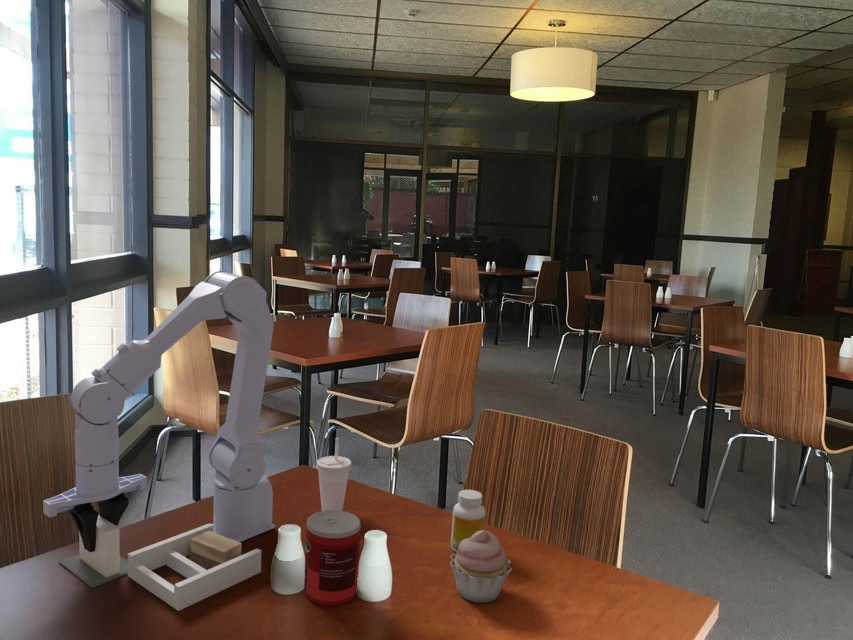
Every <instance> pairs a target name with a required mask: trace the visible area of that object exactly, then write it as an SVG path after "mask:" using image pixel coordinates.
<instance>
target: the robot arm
mask: <svg viewBox="0 0 853 640" xmlns="http://www.w3.org/2000/svg"><path fill="white" fill-rule="evenodd" d="M267 294H268V293H267V291H266V290H265V289H264V288H263V287H262V286H261V285H260V283H258V282H257V281H256V279H253V278H252V277H250V276H247V275H246V276H245V275H239V274H235V273H231V272H229V271H226V270H216V271H213V272H212V273H209V275H207V277H206V278H205V279H204V281H201V282H199V283H197V284H196V285H195V286H194V287H193V288H192V290H191V291H190V293H189V294H188V296H186V297H185V298H184V300H182V302H181V303H179V304H178V306H176V307H175V308H174V309H173V310H172V312H170V314H169V315H168V316H167V317H165V319H163V320H162V321H161V323H160V324H158V326H156V327H155V329H154V330H152V332H150V334H149V335H147V337H146V338H145V339H133V340H130V341H129V342H128V343H127V344H126V343H124V342H122V343H121V344H120V345H119V346H117V348H116V350H117V351H118V352H117V353H116V354H115V355H114V356H113V357H111V358H110V359H109V360H108V361H107V362H105V364H104V365H103V366H101V367H100V368H99V369H98V368H95V369H94V370H92V372H91V375H92V376H90V377H88V378H87V377H86V378H83V379H82V380H80V381H79V382H78V383H77V384H76V385H74V388H72V389H73V390H72V393H71V395H70V396H68V400H69V404H70V405H71V408H73V409H74V410H75V412H76V413H75V422H74V423H75V431H74V451H75V452H74V454H75V455H74V456H75V487H73V488H71V489H69V490H66V491H64V492H63V493H60V494H58V495H55V496H53V497H50V498H47V499H44V500H43V501H42V505H43V506H42V509H43V510H42V511H43V514H44V515H45V516H47V517H48V518H53V517H56V516H58V513H59V514H60V513H63V512H66V511H67V512H68V514H69V515H70V516H71V518H72V519H73V521H74V523H75V525H76V527H77V530H78V533H79V532H80V535H81V538H82V541H83V546H84V549H86V550H87V551H89V552H94V551H95V548H96V524H97V519H98V515H99V516H101V517H103V518H104V519H106V520H107V521H109V522H111V523H112V524H114V525H115V526H117V527H119V524H120V521H121V519H122V517H123V514H125V511H126V510H127V508H128V507H129V503H130V502H129V498H128V497H127V496H125V494H127V493H130V492H134V491H136V490H139V491H143V490H147V488H148V476H145V475H144V474H141V473H138V474H133V475H126V476H120V475H119V474H120V470H119V469H120V465H119V463H120V462H119V461H120V459H119V453H120V451H119V449H120V448H119V426H118V424H119V423H118V422H119V421H118V420H119V419H118V417H119V416H121V414H122V413H123V412H124V409H125V402H126V400H127V399H128V398H129V397H131V396H132V395H133V394H134V393H135V392H136V391H137V390H138V389H140V387H142V385H143V384H144V383H145V382H146V381H148V379H150V378H151V377H152V376H153V375H154V374H156V372H157V371H159V369H160V368H161V364H162V356H163V354H165V353H166V352H167V351H168V350H169V349H171V348H172V347H173V346H174V345H175V344H177V343H178V342H179V341H180V340H181V339H182V338H184V337H185V336H186V335H187V334H189V333H190V332H191V331H192V330H193V329H195V328H196V327H197V326H198V325H199V324H200V323H201V322H204V321H210V320H217V319H219V320H220V319H226V318H228V320H229V321H230V322H231V323H232V325H234V326H235V327H236V329H237V330H238V337H237V344H236V350H235V356H234V364H233V371H232V376H231V383H230V390H229V394H228V403H227V409H226V417H225V422H224V423H223V424H222V425H221V426H220V427H219V428H218V429H217V433H216V437H215V441H214V442H213V443H212V446H211V447H210V449H209V451H208V462H209V464H210V466H211V468H213V469H214V471H215V472H214V478H213V522H212V523H211V524H212V525H213V533H216V534H219V535H221V536H224V537H227V538H229V539H232V540H235V541H237V542H240V543H242V542H244V541H246V540H248V539H251V538H253V537H256V536H258V535H261V534H263V533H265V532H269V531H270V530H272V529H275V527H276V525H275V524H274V523H273V506H274V505H273V500H274V497H273V496H274V493H273V492H274V491H273V487H272V483H271V481H270V480H269V478H268V477H267V476H266V475H265V472H266V467H267V466H266V464H267V463H266V459H265V456H264V446H265V445H264V441H263V438H262V436H261V433H260V430H259V422H260V416H261V410H262V403H263V396H264V391H265V386H266V385H265V384H266V377H267V371H268V364H269V358H270V353H271V347H272V339H273V333H274V327H275V326H274V325H275V322H274V320H273V317H272V314H271V311H270V308H269V305H268V302H267V296H268V295H267ZM96 502H97V504H98V511H99V512H98V511H97V510H95V509H94V505H92V504H93V503H96Z"/></svg>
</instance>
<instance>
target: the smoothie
mask: <svg viewBox="0 0 853 640" xmlns="http://www.w3.org/2000/svg"><path fill="white" fill-rule="evenodd" d="M334 443H335V444H334V455H327V456H323V457H320V458H319V459H318V460H316V465H315V467H316V469H317V471H318V481H319V484H318V485H319V493H320V495H319V496H320V505H321V511H326V510H340V511H343V507H344V502H345V498H346V497H345V496H346V492H347V491H346V490H347V485H348V479H349V473H350V471H351V469H352V460H351V459H350V458H348V457H345V456H340V455H339V438H338V437H335V442H334Z"/></svg>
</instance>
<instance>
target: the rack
mask: <svg viewBox="0 0 853 640" xmlns="http://www.w3.org/2000/svg"><path fill="white" fill-rule="evenodd" d="M212 524H213V523H211V522H210V523H207V524H204V525H201V526H199V527H196V528H194V529H190V530H188V531H186V532H181V533H180V534H177V535H175V536H172V537H168V538H167V539H164V540H161V541H158V542H156V543H153V544H150V545H148V546H144V547H143V548H140V549H137V550H134V551H132V552H128V553H127V560H128V574H127V577H129V578H130V579H131V580H133V581H134V582H136V583H137V584H138V585H140V586H142V587H143V588H144V589H145V590H147V591H149V592H150V593H152V595H153V594H154V596H156V598H159V599H160V600H162V601H163V602H165V603H166V604H168V605H169V606H171V607H172V608H173V609H175V610H176V611H178V612H179V611H181V610H184V609H185V608H187V607H190V606H192V605H195V604H196V603H199V602H201V601H202V600H205V599H207V598H208V597H209V598H210V597H211V596H213V595H215V594H218V593H220V592H222V591H224V590H227V589H229V588H230V587H232V586H235V585H236V584H239V583H241V582H243V581H245V580H247V579H249V578H251V577H253V576H255V575H258V574H260V573H261V572H262V550H261V549H259V548H255V549H252V550H250V551H248V552H246V553H244V554H241V556H239V557H236V558H234V559H232V560H229V561H227V562H225V563H222V564H220V565H218V566H216V567H213V568H211V569H209V570H206V569H204V568H202V567H201V566H199V565H197V564H196V563H194V562H192V561H191V560H189V558H187V557H189V547H190V546H191V539H192V538H195V537H197V536H199V535H201V534H203V533H205V532H207V531H210V532H213V525H212ZM164 566H167V567H169V568H170V569H171V570H173V571H174V572H176V573H178V574H180V575H181V576H183V577H184V578H186V579H183V580H181V581H178V582H176V583H175V584H174V585H173V583H171V582H169V581H167V580H166V579H164V578H163V577H161V575H158V574H156V573H155V572H154V571H155V569H159V568H160V567H164ZM153 570H154V571H153Z"/></svg>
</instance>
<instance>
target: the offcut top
mask: <svg viewBox="0 0 853 640" xmlns="http://www.w3.org/2000/svg"><path fill="white" fill-rule="evenodd" d="M191 552H193V553H196V554H198V555H201V556H203V557H206V558H208V559H211V560H213V561H216V562H218V563H221V564H222V563H225V562H227V561H229V560H232V559H234V558H236V557H239V556H241V555H242V542H237V541H235V540H232V539H229V538H227V537H224V536H221V535H219V534H216V533H213V532H210V531H207V532H205V533H203V534H201V535H199V536H197V537H195V538H192V539H191Z"/></svg>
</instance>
